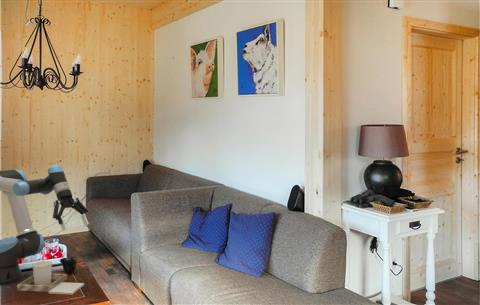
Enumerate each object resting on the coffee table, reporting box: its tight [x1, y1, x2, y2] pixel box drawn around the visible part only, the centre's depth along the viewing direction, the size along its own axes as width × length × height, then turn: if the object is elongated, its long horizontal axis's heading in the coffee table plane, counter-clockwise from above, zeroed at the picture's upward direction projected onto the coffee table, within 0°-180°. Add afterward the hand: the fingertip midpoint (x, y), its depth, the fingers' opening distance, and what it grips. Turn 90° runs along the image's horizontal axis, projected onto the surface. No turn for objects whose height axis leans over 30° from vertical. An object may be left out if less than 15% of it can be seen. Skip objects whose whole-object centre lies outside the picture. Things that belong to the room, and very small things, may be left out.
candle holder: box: [32, 260, 53, 286], centre depth 229 cm, size 10×10×12 cm
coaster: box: [48, 281, 85, 296], centre depth 223 cm, size 13×13×1 cm
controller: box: [59, 256, 77, 274], centre depth 248 cm, size 4×12×10 cm, turn 57°
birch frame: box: [16, 273, 68, 293], centre depth 229 cm, size 18×18×3 cm
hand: (76, 227), depth 219 cm, fingers open, 13 cm apart
